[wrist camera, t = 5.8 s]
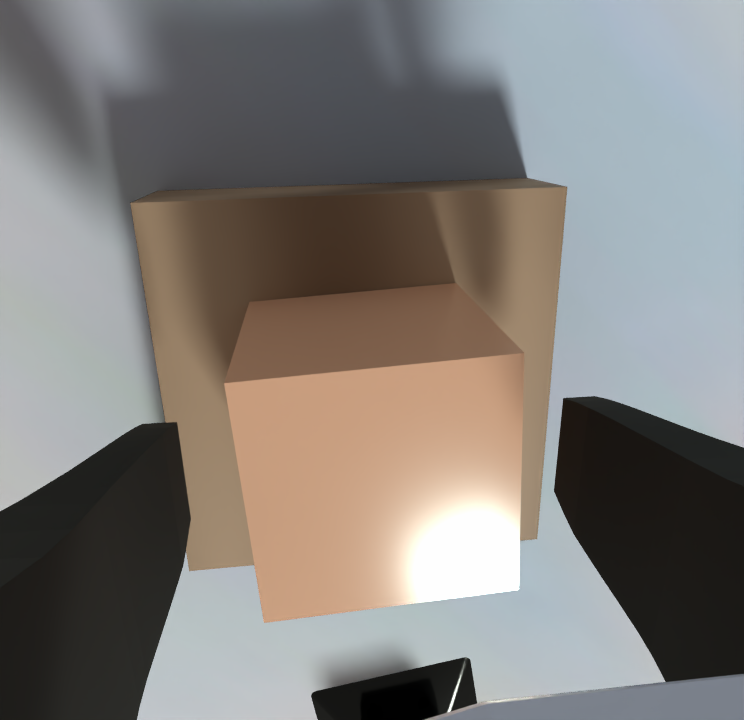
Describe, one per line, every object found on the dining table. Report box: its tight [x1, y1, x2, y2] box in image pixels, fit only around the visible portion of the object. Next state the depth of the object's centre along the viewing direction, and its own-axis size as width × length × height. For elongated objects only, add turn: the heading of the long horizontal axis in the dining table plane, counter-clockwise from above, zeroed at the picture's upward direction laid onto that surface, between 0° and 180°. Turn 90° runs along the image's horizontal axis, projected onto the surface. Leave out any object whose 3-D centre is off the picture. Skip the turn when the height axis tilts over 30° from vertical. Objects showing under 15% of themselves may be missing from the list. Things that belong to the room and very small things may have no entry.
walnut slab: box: [130, 178, 567, 571], centre depth 16 cm, size 9×9×3 cm
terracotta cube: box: [224, 283, 524, 623], centre depth 12 cm, size 4×4×4 cm
